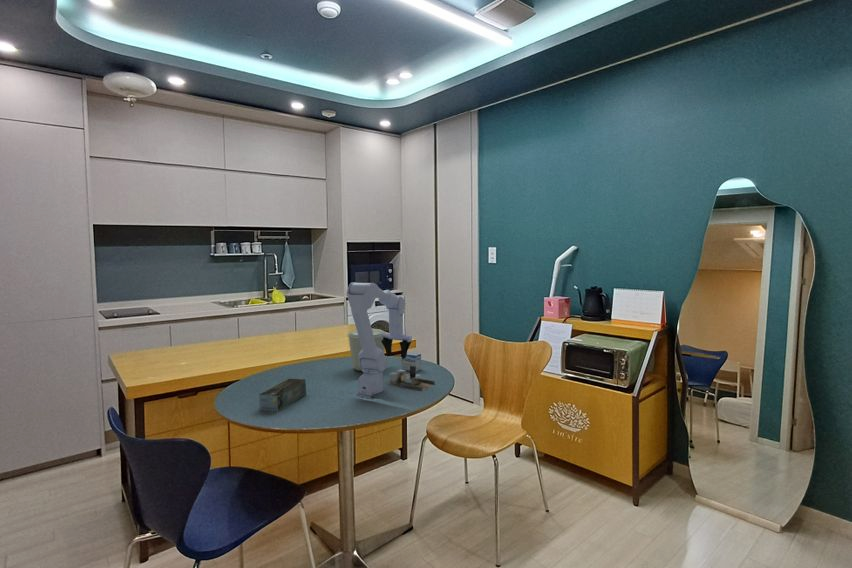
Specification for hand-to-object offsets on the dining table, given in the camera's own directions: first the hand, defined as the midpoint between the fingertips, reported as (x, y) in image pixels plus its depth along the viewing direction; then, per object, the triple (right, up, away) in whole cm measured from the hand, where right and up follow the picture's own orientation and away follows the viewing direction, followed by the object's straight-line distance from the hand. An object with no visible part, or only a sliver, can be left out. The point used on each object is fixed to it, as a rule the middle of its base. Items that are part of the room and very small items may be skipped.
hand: (396, 356), depth 189 cm
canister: (-15, -9, +21) cm, 27 cm away
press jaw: (+7, -9, -8) cm, 14 cm away
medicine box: (+6, -10, +14) cm, 18 cm away
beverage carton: (-40, -13, -23) cm, 48 cm away
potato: (+4, -10, -7) cm, 12 cm away
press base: (+6, -11, -8) cm, 15 cm away
